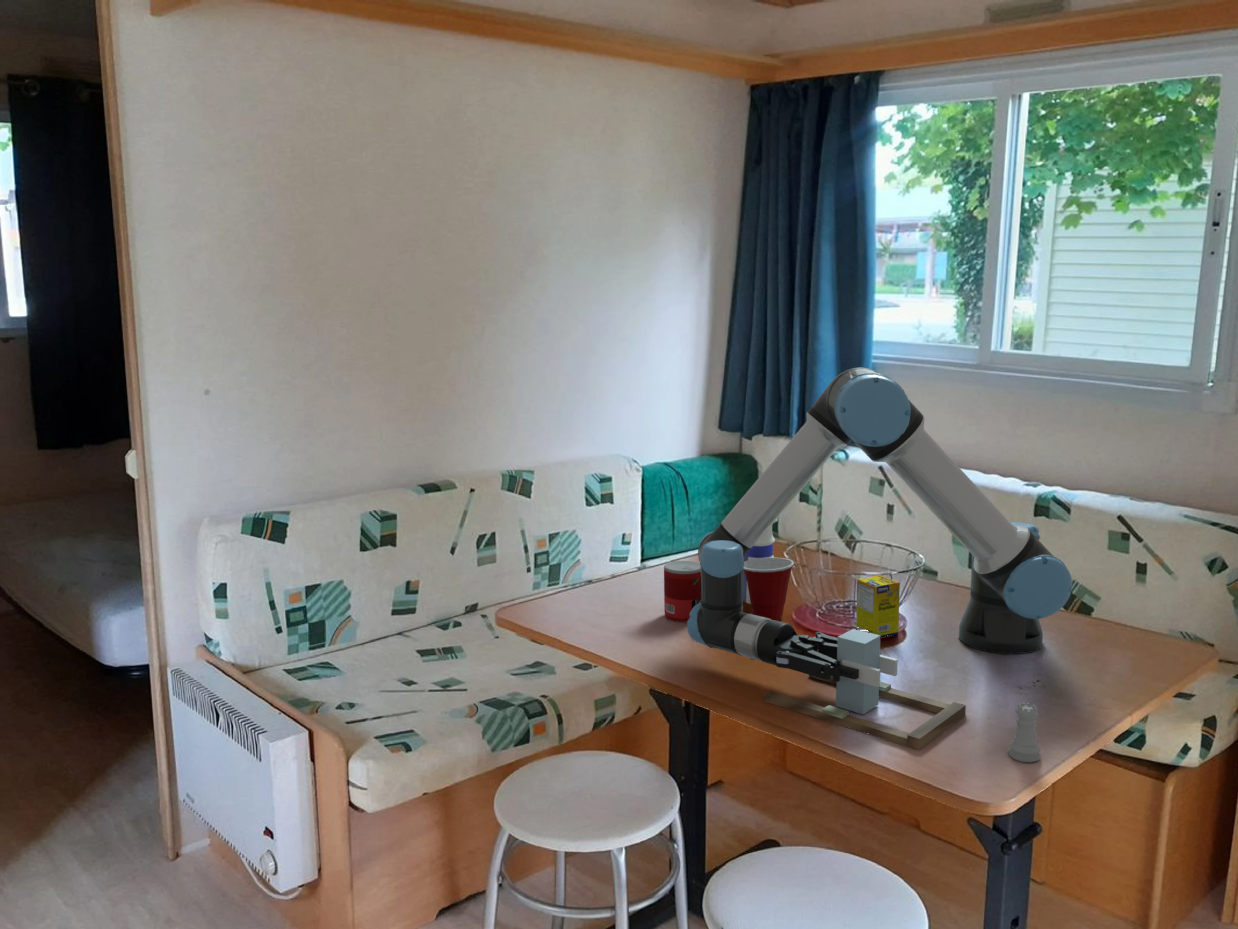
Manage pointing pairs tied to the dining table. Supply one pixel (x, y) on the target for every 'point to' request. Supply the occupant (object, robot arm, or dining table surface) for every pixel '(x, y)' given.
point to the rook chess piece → (1025, 735)
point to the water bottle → (758, 556)
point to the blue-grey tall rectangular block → (863, 652)
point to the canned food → (681, 589)
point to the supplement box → (878, 605)
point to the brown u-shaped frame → (915, 739)
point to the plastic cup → (768, 585)
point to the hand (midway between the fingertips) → (887, 672)
